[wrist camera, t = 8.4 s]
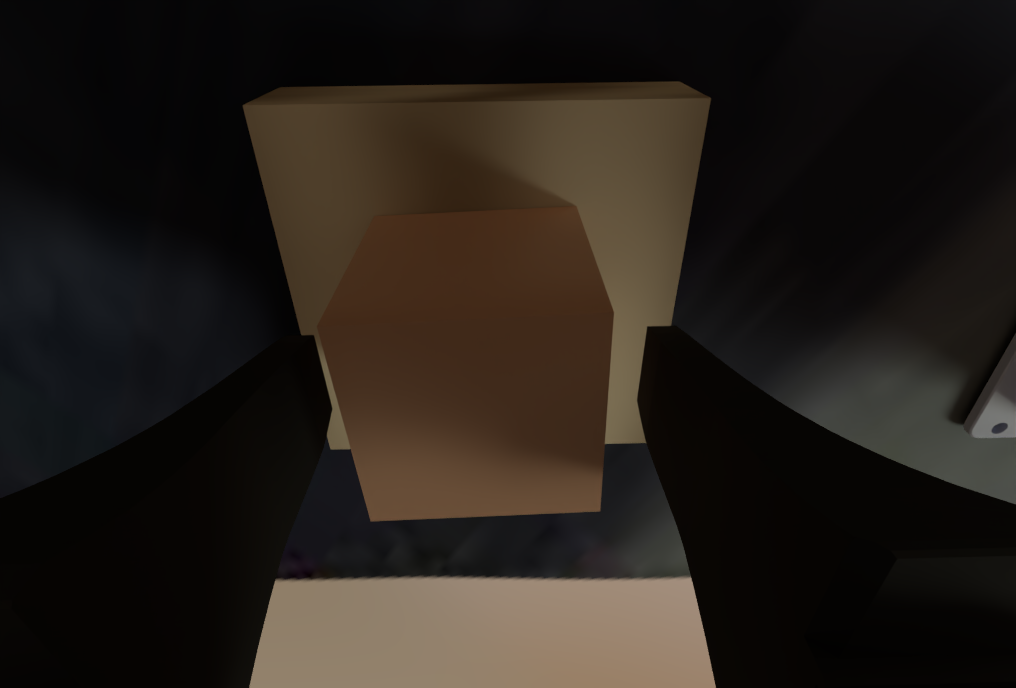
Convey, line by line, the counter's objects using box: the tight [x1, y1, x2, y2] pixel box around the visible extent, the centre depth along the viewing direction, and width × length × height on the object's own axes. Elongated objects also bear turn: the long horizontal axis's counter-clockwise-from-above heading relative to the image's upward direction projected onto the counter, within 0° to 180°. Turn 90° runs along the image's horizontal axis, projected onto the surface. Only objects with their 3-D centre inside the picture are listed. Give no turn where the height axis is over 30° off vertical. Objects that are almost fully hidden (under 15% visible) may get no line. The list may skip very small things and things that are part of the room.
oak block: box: [243, 81, 711, 449], centre depth 16 cm, size 10×10×3 cm
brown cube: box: [317, 206, 614, 521], centre depth 12 cm, size 5×5×5 cm
